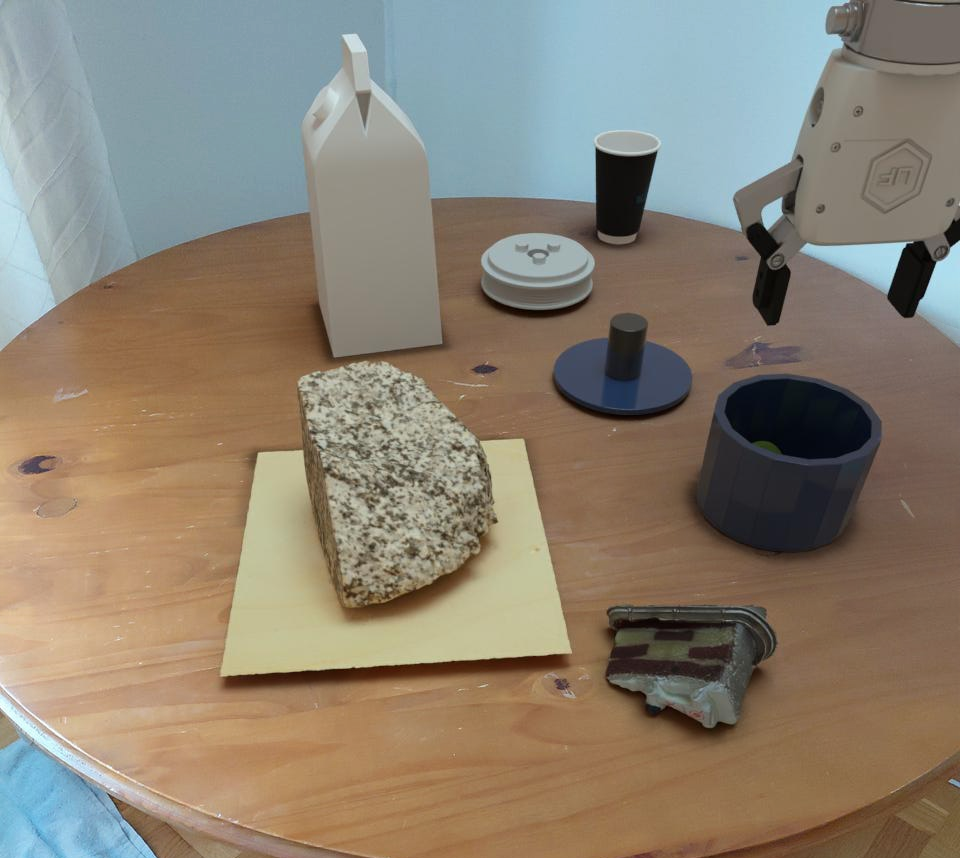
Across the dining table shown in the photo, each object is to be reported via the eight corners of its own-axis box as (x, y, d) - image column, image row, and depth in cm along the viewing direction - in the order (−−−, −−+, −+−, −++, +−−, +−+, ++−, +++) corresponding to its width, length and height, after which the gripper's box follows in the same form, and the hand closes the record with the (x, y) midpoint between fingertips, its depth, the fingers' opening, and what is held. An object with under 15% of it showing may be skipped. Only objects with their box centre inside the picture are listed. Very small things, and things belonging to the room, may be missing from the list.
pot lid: (672, 345, 93) (682, 285, 89) (705, 417, 84) (719, 355, 79) (544, 350, 93) (547, 291, 88) (563, 424, 83) (568, 362, 79)
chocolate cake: (565, 692, 62) (698, 672, 52) (596, 607, 64) (727, 574, 55) (656, 754, 66) (794, 747, 56) (681, 672, 69) (817, 652, 59)
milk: (442, 343, 93) (433, 57, 74) (333, 357, 92) (295, 67, 72) (420, 292, 101) (406, 21, 82) (319, 303, 99) (281, 29, 80)
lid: (518, 328, 96) (519, 283, 92) (461, 282, 103) (460, 238, 99) (613, 300, 100) (618, 256, 96) (552, 258, 107) (554, 215, 104)
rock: (251, 449, 80) (323, 290, 71) (459, 534, 89) (548, 402, 79) (210, 674, 60) (303, 493, 51) (484, 755, 69) (607, 613, 59)
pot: (818, 455, 80) (846, 370, 74) (871, 547, 71) (909, 460, 65) (680, 462, 79) (697, 377, 73) (718, 556, 71) (741, 468, 64)
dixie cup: (578, 225, 114) (585, 131, 106) (638, 221, 115) (649, 127, 107) (594, 252, 109) (603, 154, 101) (656, 247, 110) (670, 150, 101)
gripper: (788, 52, 47) (727, 346, 60) (1100, 39, 48) (975, 332, 61) (748, 16, 53) (699, 294, 65) (1031, 5, 53) (928, 282, 66)
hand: (832, 312), depth 63 cm, fingers open, 9 cm apart
